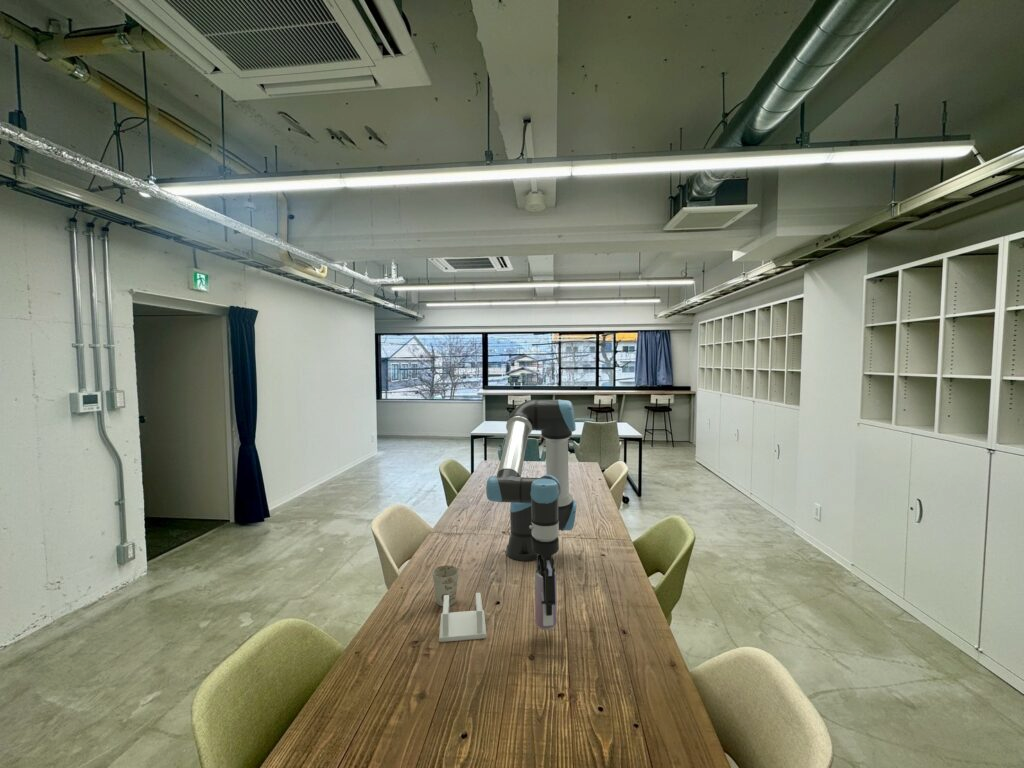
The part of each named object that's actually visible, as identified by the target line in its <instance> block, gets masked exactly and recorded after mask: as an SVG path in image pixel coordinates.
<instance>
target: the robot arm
mask: <svg viewBox="0 0 1024 768" xmlns="http://www.w3.org/2000/svg"><path fill="white" fill-rule="evenodd" d="M575 419H576V418H575V410H574V405H573V403H572V402H571V401H570V400H565V399H530V400H526V401H524V402H522V403H520V404H518V405H517V406H516V407H515V408H514V409H513V410H512V411H511V412H510V414H509V416H508V418H507V420H506V425H505V428H506V431H507V432H506V436H505V440H504V443H503V444H504V445H503V449H502V453H501V458H500V461H499V465H498V468H497V473H496V475H494V476H493V475H492V476H489V477H488V478H487V481H486V487H485V488H486V489H485V492H486V498H487V500H488V501H490V502H494V503H501V504H502V503H510V508H509V512H510V515H509V516H510V519H509V520H510V522H509V523H510V536H509V539H508V543H507V544H506V556H507V557H508V558H510V559H513V560H515V561H523V562H528V561H535V560H536V570H537V569H539V570H540V574H541V576H542V577H543V593H544V601H541V603H542V604H543V625H544V626H550V625H553V605H555V574H556V568H555V567H554V562H555V561H554V558H552V556H553V555H555V554H557V553H558V552H559V550H560V547H559V546H560V543H559V542H560V540H559V536H560V531H561V532H563V531H573V529H574V527H575V523H576V511H577V501H576V500H574V498H573V495H572V494H571V493H570V491H569V490H570V487H569V486H570V485H569V478H570V477H569V475H570V474H569V439H570V438H571V437H572V434H573V433H574V432H575V431H576V429H577V428H576V420H575ZM532 431H537V432H538V431H539V432H540V433H541V434H540V435H541V437H542V438H543V439H544V441H545V467H546V468H545V470H546V471H545V472H546V474H544V475H542V476H540V477H526V476H525V477H524V476H523V477H522V472H523V466H524V460H525V456H526V455H525V453H526V449H527V444H528V438H529V435H531V433H532ZM543 572H545V573H543Z"/></svg>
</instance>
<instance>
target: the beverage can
mask: <svg viewBox="0 0 1024 768" xmlns="http://www.w3.org/2000/svg"><path fill="white" fill-rule="evenodd" d="M543 573H545V572H543ZM541 601H544V593H543V577H542V576H541V574H540V570H539V569H537V568H536V569H535V573H534V618H535V619H534V623H535V624H536V626H537V628H539V629H540V630H546V631H547V630H551V629H554V628H555V626H556V625H557V623H558V622H557V621H558V618H557V574H556V573H555V605H553V625H550V626H544V625H543V604H542V603H541Z"/></svg>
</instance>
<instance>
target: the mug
mask: <svg viewBox="0 0 1024 768" xmlns="http://www.w3.org/2000/svg"><path fill="white" fill-rule="evenodd" d="M432 580H433V581H432V582H433V587H434V594H435V601H436V604H437V605H438V606H440V607H443V603H444V595H449V607H451V606H452V605H454V604H455V603H456V597H457V590H458V589H457V588H458V580H459V568H457V566H454V565H440V566H437V567H436V568H434V569H433V570H432Z"/></svg>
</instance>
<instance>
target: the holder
mask: <svg viewBox="0 0 1024 768" xmlns="http://www.w3.org/2000/svg"><path fill="white" fill-rule="evenodd" d="M481 593H482V592H475V604H474V610H466V611H464V610H463V611H455V612H454V611H453V612H452V611H451V606H449V595H444V603H443V606H442V613H440V625H439V634H438V635H439V636H438V641H439V642H438V643H442V642H455V641H456V642H457V641H468V640H477V639H478V640H481V639H487V626H486V618H485V615H486V614H485V609H483V605H482V603H483V602H482V594H481Z"/></svg>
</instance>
